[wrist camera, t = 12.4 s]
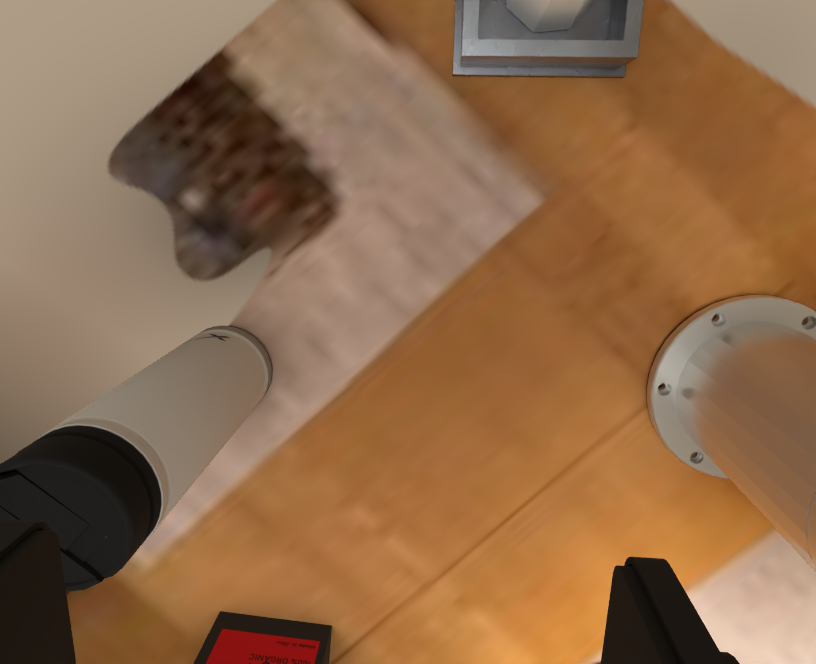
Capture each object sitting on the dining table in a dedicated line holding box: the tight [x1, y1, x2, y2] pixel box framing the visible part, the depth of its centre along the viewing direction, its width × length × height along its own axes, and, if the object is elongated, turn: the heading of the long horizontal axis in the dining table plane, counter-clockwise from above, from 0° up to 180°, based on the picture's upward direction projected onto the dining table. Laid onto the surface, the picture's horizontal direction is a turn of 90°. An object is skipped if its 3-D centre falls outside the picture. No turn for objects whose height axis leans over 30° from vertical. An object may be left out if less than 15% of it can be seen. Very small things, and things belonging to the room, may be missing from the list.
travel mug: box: [0, 326, 272, 591], centre depth 32 cm, size 6×7×20 cm
